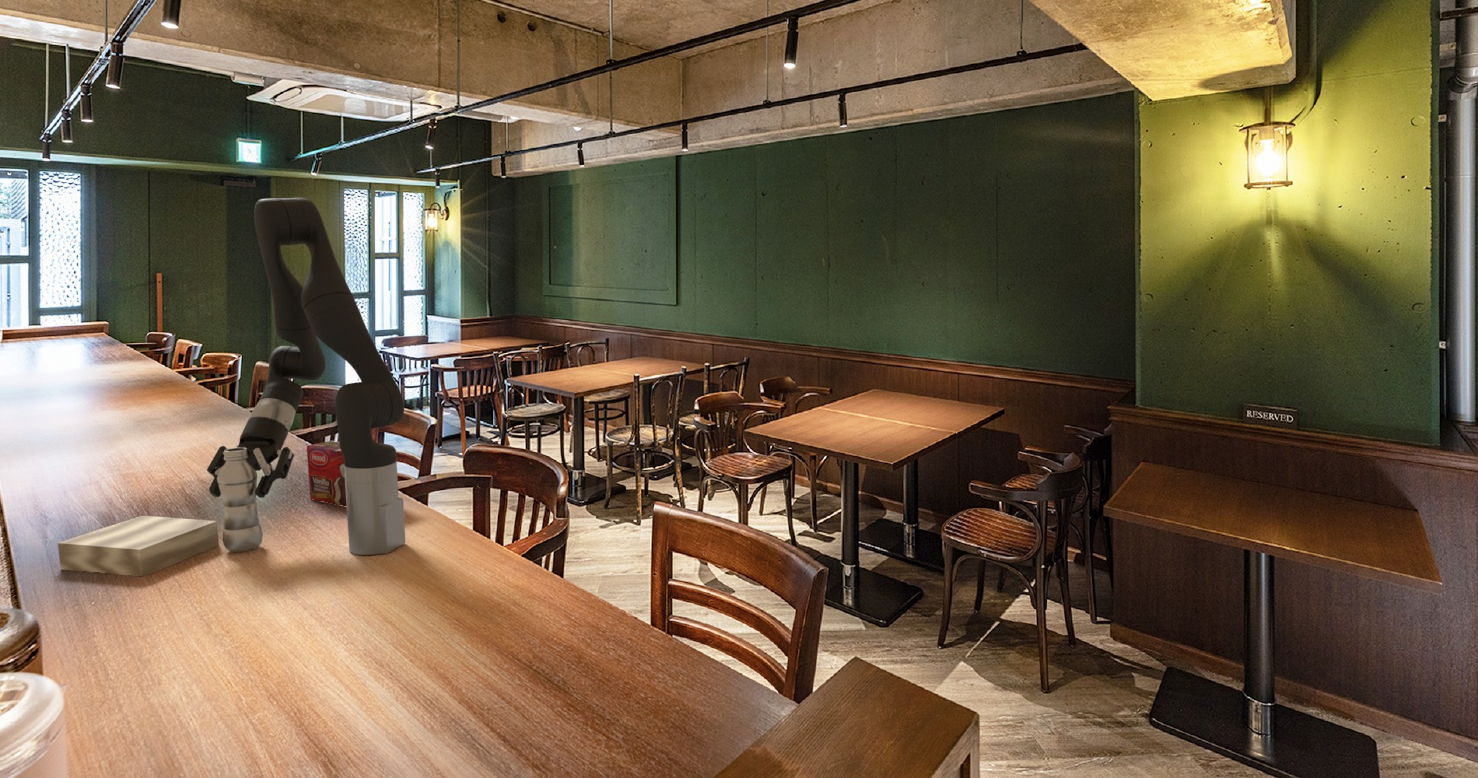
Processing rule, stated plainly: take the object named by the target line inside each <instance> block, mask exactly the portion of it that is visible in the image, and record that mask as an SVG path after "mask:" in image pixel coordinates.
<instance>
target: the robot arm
mask: <svg viewBox="0 0 1478 778" xmlns="http://www.w3.org/2000/svg"><path fill="white" fill-rule="evenodd" d="M253 218H254V227H255V233H256V236H257V241H258V245H259V248H260V249H259V250H260V253H261V256H262V257H261V258H262V261H263V266H264V269H265V272H266V276H267V281H268V284H269V288H270V292H271V299H272V304H273V315H274V316H273V317H274V326H275V327H274V328H275V333H276V334H275V335H277V337H278V338H279V339H280V340H283V341H285V342H288V343H291V344H293V345H294V346H292V345H291V346H290V345H281V346H277V347H276V348H275V349H273V351H271V353H270V355H269V359H268V372H267V379H266V385H265V387H264V390H263V392H262V393H261V396H260V398H259V400H258V401H257V404H256V405H255V406H254V408H253V409H252V412H251V413H250V416H249V418H248V419H247V422H246V423H245V425H244V427H243V430H242V432H241V435H239V441H238V444H237V446H236V447H235V448H247V455H248V458H247V459H246V460H247V462H248V463H249V464H251V465H252V467H253V468H254V469H255V470H256V472H257V471H258V472H259V471H261V470H262V473H263V476H261V478H260V480H259V482H258V483H257V488H256V491H255V494H256V497H257V498H261V499H262V498H265V496H266V495H268V494H269V492H270V491H271V488H272V487H273V483H274V482H275V481H276V480H278V479H281V480H284V479H286V478H287V477H288V473H289V470H290V469H291V468H290V467H291V465H292V462H293V459H294V456H295V454H294V453H293V451H292V450H291V449H290V448H289V447H288V446H285V447H283V446H284V443H285V441H286V439H287V437H288V435H289V432H290V430H291V427H292V425H293V422H294V418H295V416H296V412H297V410H298V408H299V406H300V403H301V402H302V399H303V397H304V390H303V388H302V386H301V385H300V384H299V383H297V382H295V381H292V380H301V381H310V382H311V381H313V382H314V381H317V380H318V379H320V378H321V377H323V375H324V373H325V370H326V358H325V355H324V353H323V349H322V346H321V345H320V343H319V341H321V342H322V343H323V344H324V345H326V346H327V347H328V348H329V349H331V351H333V352H334V353H335V354H337V355H338V356H340V357H341V358H342V359H343V360H344V361H346V362H347V364H348V365H350V367H352V369H353V370H354V372H355V374H357V376H358V378H359V379H360V381H358V382H351V383H346V384H344V385H342V386H340V388H339V389H338V390H337V393H336V396H335V403H334V405H335V406H334V408H335V409H334V410H335V418H336V425H337V432H338V442H339V444H340V449H341V452H342V455H343V458H344V470H345V488H346V504H347V507H346V517H347V518H346V519H347V533H348V535H347V536H348V548H349V552H350V553H351V554H354V555H361V556H364V555H365V556H371V555H373V556H374V555H379V554H380V555H382V554H384V555H385V554H389V553H390V552H393V551H394V550H396V549H397V548H399V547H401V546H403V545H405V544H406V533H405V532H406V528H405V527H406V526H405V507H404V506H405V505H404V504H405V503H404V498H403V497H399V485H398V484H399V482H398V463H397V462H398V461H397V460H398V459H397V458H398V457H397V450H396V447H394V446H393V445H392V444H388V443H381V442H376V441H375V440H374V439H373V435H372V429H377V428H383V427H388V426H393V425H395V424H398V423H400V421H401V420H402V419H403V417H404V413H405V404H404V398H403V395H402V393H401V390H400V388H399V386H398V384H397V381H396V380H395V378H394V377H393V375H392V373H391V371H390V370H389V368H388V366H387V365H386V363H385V362H384V359H383V358H382V356H381V355H380V352H379V351H378V348H377V347H376V344H375V342H374V341H373V339H372V337H371V334H370V333H369V330H368V329H367V326H366V324H365V322H364V319H363V316H362V314H361V311H360V309H359V307H358V304H357V302H356V299H355V298H354V295H353V293H352V291H351V289H350V288H349V285H348V283H347V281H346V279H345V277H344V275H343V272H342V269H341V268H340V265H339V263H338V261H337V258H336V256H335V253H334V250H333V247H332V244H331V240H330V239H329V236H328V233H327V229H326V226H325V223H324V221H323V218H322V216H321V213H320V211H319V209H318V207H317V206H316V204H315V203H314V202H313V201H312V200H311V199H309V198H306V197H283V198H282V197H278V198H277V197H276V198H275V197H274V198H271V197H269V198H261V199H258V201H257V202H256V203H255V206H254V210H253ZM290 245H291V246H294V245H305V246H306V248H307V249H308V251H309V255H310V264H309V271H308V273H307V275H306V278H305V282H304V285H302V284H301V283H300V282H299V280H298V279H297V278H296V277H295V276H294V274H293V273H292V272H291V271H290V269H289V268H288V266H287V264H286V263H285V260H284V258H283V254H282V249H281V247H282V246H290ZM318 339H319V340H318ZM290 379H292V380H290ZM226 449H228V448H227V447H226V446H225V445H221V446H220V447H218V450H216V453H215V454H214V456H213V459H212V460H211V462H210V463H209V465H208V467H207V469H206V471H207V472H208V473H209V474H210V475H211V476H212V477H213V479H212V482H211V484H210V486H209V487H208V488H209V489H208V491H209V494H210V495H212V496H213V497H214V498H219V497H221V493H220V489H219V485H218V481H217V477H218V473H219V472H220V470H221V469H222V467H223V466H224V465H225V463H226V461H225V460H224V450H226ZM277 459H278V460H277ZM275 460H277V463H276V465H275V468H274V467H273V465H272V463H273V462H274V461H275Z"/></svg>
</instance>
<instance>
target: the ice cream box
mask: <svg viewBox="0 0 1478 778" xmlns="http://www.w3.org/2000/svg"><path fill="white" fill-rule="evenodd" d="M306 457H307V471H308V485H309V486H308V487H309V498H310V499H314V500H317V501H316V502H318V501H324V502H328V503H332V504H331V505H333V504H336V505H335V506H338V505H343V506H347V504H346V488H345V470H344V458H343V455H342V452H341V449H340V444H339V441H335V440H329V441H324V442H319V443H314V444H308V445H306ZM310 499H309V500H310ZM314 500H313V501H314ZM328 503H327V504H328Z"/></svg>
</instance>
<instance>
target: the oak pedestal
mask: <svg viewBox="0 0 1478 778" xmlns="http://www.w3.org/2000/svg"><path fill="white" fill-rule="evenodd" d="M218 530H219V529H218V522H217V520H209V519H205V520H204V519H193V518H192V519H191V518H179V517H169V516H168V517H165V516H152V515H140V516H137V517H133V518H131V519H127V520H124V521H121V522H118V523H115V524H112V525H109V526H106V527H103V528H99V529H97V530H94V531H90V532H87V533H84V534H81V535H78V536H75V537H72V538H70V539H67V540H62V541H60V542H57V550H58V557H59V563H60V564H59V566H60V570H62V571H63V570H64V571H73V572H83V571H90V572H89V573H94V572H100V573H99V574H105V573H108V574H107V575H117V574H118V575H120V576H128V575H135V576H134V577H139V576H142V578H143V577H145V576H144V575H146V576H148V575H151V574H152V572H153V573H155V572H158V571H160V570H163V569H165V568H167V567H169V566H172V565H175V564H177V563H179V562H181V561H185V560H187V559H189V558H191V557H194V556H196V555H199V554H202V553H204V552H206V551H208V550H211V549H214V548H216V547H219V546H220V543H219V532H218ZM162 568H163V569H162ZM154 571H155V572H154ZM109 573H110V574H109Z"/></svg>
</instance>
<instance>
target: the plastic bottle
mask: <svg viewBox="0 0 1478 778" xmlns="http://www.w3.org/2000/svg"><path fill="white" fill-rule="evenodd" d="M247 458H248V455H247V448H236V447H233V448H227V449H226V450H224V460H225V461H226V463H225V465H224V466H223V467H222V469H221V470H220V472H219V473H218V477H217V481H218V485H219V489H220V493H221V495H220V497H221V502H222V506H223V529H222V537H221V538H222V539H221V540H222V543H223V547H224V548H225V549H226V550H227V551H230V552H235V553H236V552H246V551H250V550H254V549H257V548H258V547H260V546H261V544H262V542H263V539H264V538H263V536H264V532H263V527H262V526H261V525H262V524H261V523H260V518H259V513H258V508H257V505H258V504H257V495H256V494H255V491H256V488H257V486H258V472H257V471H256V470H255V469H254V468H253V467H252V465H251V464H249V463H248V462H247V460H246V459H247Z"/></svg>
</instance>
